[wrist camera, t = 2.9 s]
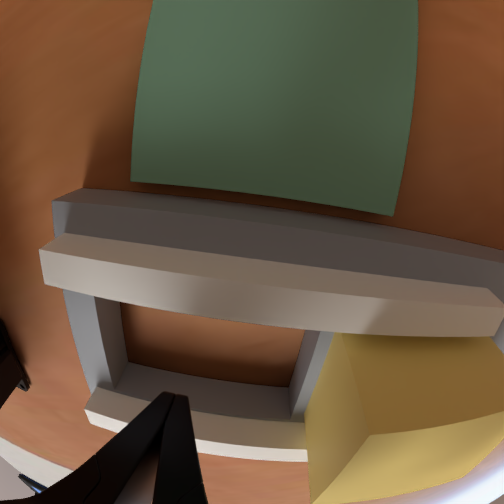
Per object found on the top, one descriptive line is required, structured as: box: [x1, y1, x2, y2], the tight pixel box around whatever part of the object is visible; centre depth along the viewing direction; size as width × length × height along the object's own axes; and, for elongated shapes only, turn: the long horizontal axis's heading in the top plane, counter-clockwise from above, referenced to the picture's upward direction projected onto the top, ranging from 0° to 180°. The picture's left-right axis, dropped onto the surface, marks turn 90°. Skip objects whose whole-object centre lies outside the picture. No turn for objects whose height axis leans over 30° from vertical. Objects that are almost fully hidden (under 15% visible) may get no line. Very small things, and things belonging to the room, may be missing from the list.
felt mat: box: [130, 0, 418, 217], centre depth 8 cm, size 9×9×1 cm
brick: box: [304, 332, 504, 504], centre depth 8 cm, size 7×5×4 cm
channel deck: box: [39, 188, 504, 462], centre depth 11 cm, size 24×11×4 cm, turn 83°
